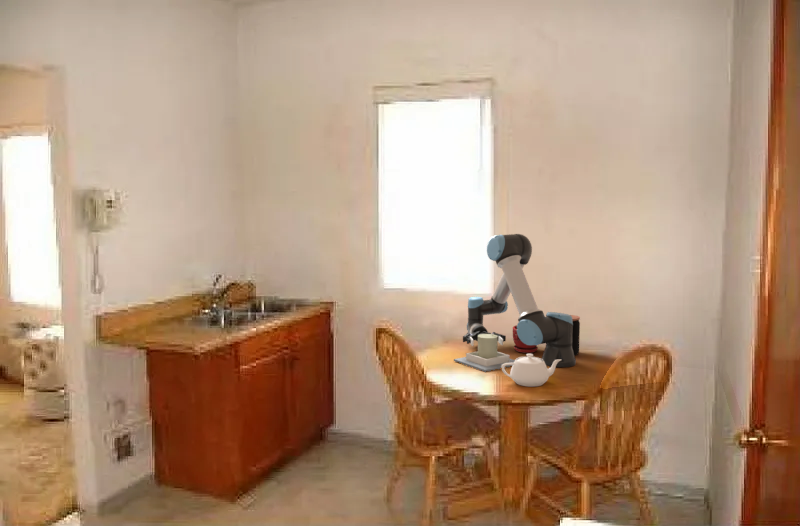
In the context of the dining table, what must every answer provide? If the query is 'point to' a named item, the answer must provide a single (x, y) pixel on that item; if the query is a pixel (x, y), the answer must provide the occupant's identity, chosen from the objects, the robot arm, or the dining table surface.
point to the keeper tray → (485, 361)
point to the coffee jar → (575, 334)
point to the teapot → (530, 370)
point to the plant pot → (520, 345)
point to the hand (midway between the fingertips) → (487, 342)
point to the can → (487, 345)
